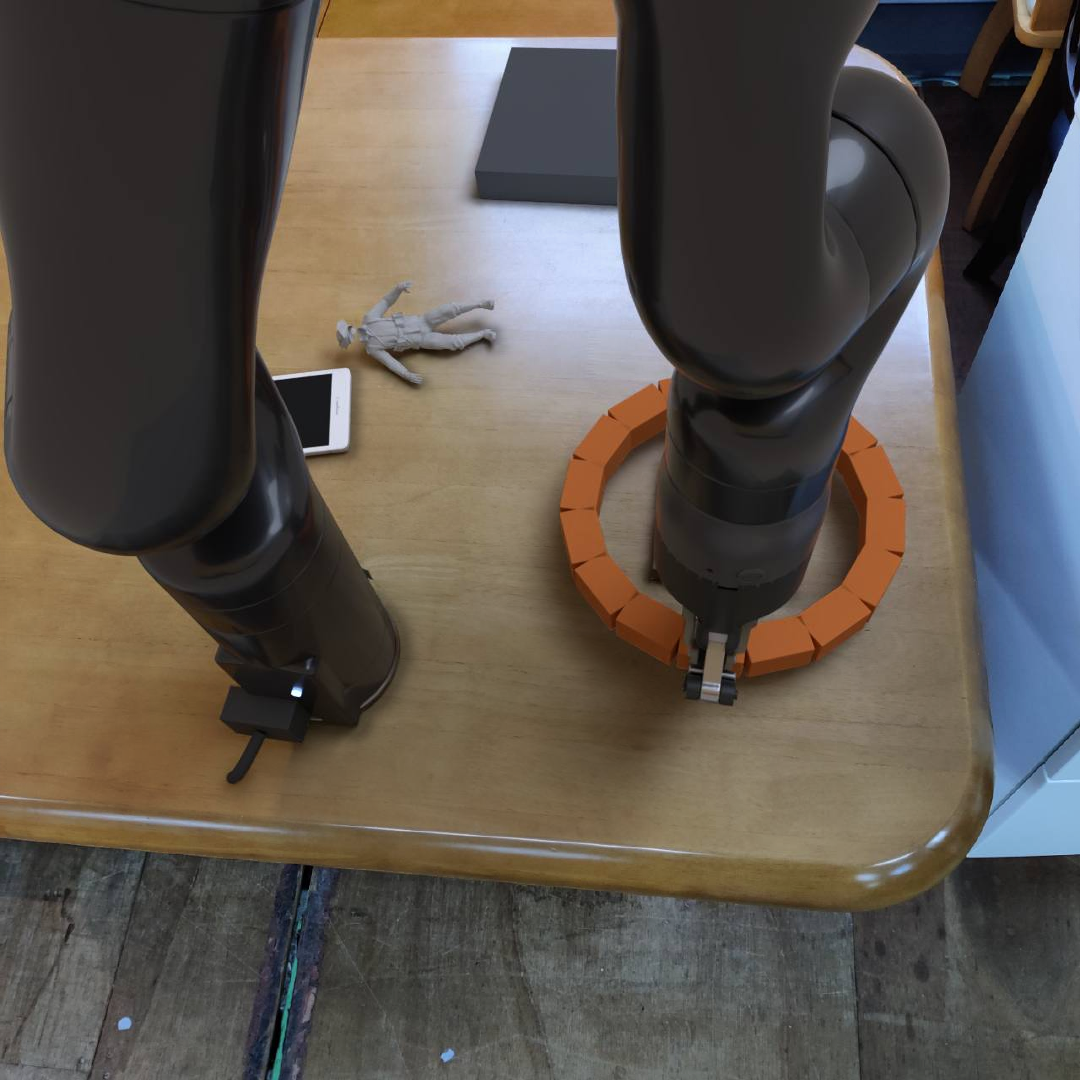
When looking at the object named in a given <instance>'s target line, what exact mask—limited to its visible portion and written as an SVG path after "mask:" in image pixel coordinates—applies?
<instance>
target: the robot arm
mask: <svg viewBox="0 0 1080 1080" xmlns="http://www.w3.org/2000/svg"><path fill="white" fill-rule="evenodd" d="M880 2H881V0H612V3H613V8H614V14H615V23H616V49H617V54H616V79H615V116H616V140H617V189H618V205H617V216H618V217H617V220H618V231H619V232H618V233H619V244H620V253H621V258H622V264H623V269H624V274H625V280H626V284H627V287H628V291H629V294H630V297H631V300H632V302H633V305H634V307H635V309H636V313H637V315H638V317H639V319H640V322H641V323H642V325H643V327H644V329H645V331H646V332H647V334H648V335H649V337H650V339H651V341H653V343H654V344H655V346H656V348H657V349H658V350H659V351H660V353H661V354H662V355H663V357H664V358H665V359H666V360H667V361H668V362H669V363H670V364H671V365H672V366H673V367H674V369H673V371H672V375H671V377H670V378H671V383H670V388H669V394H668V401H667V420H666V429H665V437H664V450H663V454H662V456H661V459H660V464H659V467H658V472H657V480H656V497H655V517H654V519H655V520H654V521H655V522H654V539H653V545H654V546H653V558H654V560H655V565H656V569H657V572H658V575H659V577H660V579H661V580H660V581H661V583H662V585H663V586H664V588H665V589H666V591H667V593H669V595H670V596H671V597H673V599H674V600H675V601H676V602H678V603H679V604H680V605H681V606H682V609H681V615H682V616H683V617H684V618H685V619H686V623H685V631H684V638H683V643H684V644H685V645H687V646H689V647H691V649H690V648H689V650H688V657H690V662H689V664H691V665H690V666H689V669H687V672H685V673H684V679H683V680H684V681H683V685H682V692H684V699H685V700H689V701H696V702H702V703H707V704H714V705H721V706H725V707H726V706H728V707H734V702H735V701H737V700H738V694H739V689H736V687H737V682H736V680H737V679H736V678H737V677H736V672H732V671H728V670H732V668H733V664H736V657H737V656H735V655H737V654H742V653H744V652H745V651H746V648H747V644H748V640H749V635H750V631H751V629H752V628H755V627H756V626H757V624H758V623H759V619H762V618H764V617H767V616H769V615H772V614H773V613H774V612H776V611H778V610H780V609H781V608H783V607H784V606H785V605H786V604H787V603H788V602H789V601H790V600H791V599H792V598H793V597H794V596H795V594H796V593H797V591H798V590H799V589H800V587H801V585H802V583H803V581H804V578H805V575H806V572H807V569H808V568H809V567H808V566H809V564H810V561H811V558H812V555H813V552H814V551H815V550H814V549H815V546H816V543H817V541H818V539H819V535H820V532H821V529H822V526H823V524H824V521H825V518H826V515H827V512H828V508H829V504H830V500H831V494H832V484H833V483H832V481H833V475H834V473H835V471H836V469H835V467H836V464H837V461H838V458H839V455H840V452H841V449H842V446H843V443H844V441H845V437H846V433H847V430H848V426H849V422H850V417H851V415H852V413H853V410H854V407H855V406H856V402H857V400H858V399H859V398H858V397H859V396H860V394H861V392H862V390H863V387H864V385H865V383H866V382H867V380H868V377H869V376H870V374H871V372H872V370H873V369H874V367H875V365H876V363H877V362H878V360H879V358H880V357H881V356H882V354H883V352H884V350H885V349H886V347H887V345H888V343H889V341H890V339H891V338H892V336H893V334H894V332H895V330H896V328H897V327H898V325H899V323H900V321H901V319H902V317H903V316H904V313H905V312H906V310H907V308H908V307H909V305H910V302H911V300H912V299H913V297H914V294H915V293H916V291H917V288H918V287H919V285H920V283H921V280H922V279H923V277H924V275H925V273H926V271H927V269H928V266H929V264H930V262H931V260H932V258H933V256H934V254H935V251H936V249H937V246H938V243H939V241H940V237H941V235H942V232H943V229H944V225H945V221H946V218H947V213H948V209H949V201H950V190H951V189H950V187H951V174H950V163H949V156H948V155H949V154H948V151H947V147H946V143H945V140H944V137H943V133H942V131H941V129H940V127H939V124H938V122H937V120H936V119H935V117H934V115H933V113H932V112H931V110H930V109H929V108H928V106H927V104H926V103H925V102H924V101H923V99H922V98H921V97H920V96H919V95H918V94H917V92H915V91H914V90H913V89H911V88H910V87H909V86H908V85H907V84H905V83H904V82H902V81H900V80H899V79H897V78H896V77H894V76H892V75H890V74H888V73H886V72H884V71H882V70H878V69H875V68H871V67H866V66H860V65H846V62H847V60H848V57H849V55H850V53H851V51H852V49H853V48H854V46H855V45H856V42H857V41H858V39H859V37H860V36H861V34H862V32H863V31H864V29H865V28H866V25H868V22H869V21H870V18H871V17H872V16H873V14H874V13H875V10H876V8H877V7H878V5H879V4H880ZM322 4H323V0H0V235H1V239H2V245H3V249H4V253H5V259H6V265H7V273H8V281H9V288H10V297H11V299H10V300H11V310H10V313H9V318H8V324H7V338H6V358H5V359H6V361H5V386H4V410H3V418H4V419H3V453H4V458H5V459H4V460H5V465H6V468H7V472H8V476H9V478H10V481H11V482H12V485H13V487H14V489H15V491H16V492H17V494H18V496H19V497H20V499H21V500H22V502H23V503H24V505H25V506H26V507H27V509H28V510H29V511H30V512H32V514H33V515H34V516H35V517H36V518H37V519H38V520H40V521H41V522H42V523H43V524H44V525H45V526H47V527H48V528H49V529H50V530H52V531H53V532H54V533H56V534H58V535H60V536H61V537H62V538H65V539H66V540H68V541H70V542H72V543H74V544H76V545H79V546H81V547H83V548H87V549H89V550H92V551H94V552H98V553H102V554H107V555H111V556H119V557H136V558H137V560H138V561H139V563H140V565H141V566H142V567H143V569H144V570H145V571H146V573H147V574H149V576H150V577H151V578H152V579H153V580H154V581H155V582H156V583H157V584H158V585H159V586H160V587H161V588H162V589H163V590H164V591H165V592H166V593H167V594H168V595H169V596H170V597H171V598H172V599H173V600H174V601H175V602H176V603H177V604H178V605H179V606H180V607H181V608H182V609H183V610H184V611H185V612H186V613H187V614H188V615H189V616H190V617H191V618H192V619H193V620H194V621H195V622H196V624H197V625H199V626H200V627H201V628H202V629H203V630H204V631H205V632H206V633H207V634H208V635H209V637H211V638H212V639H213V640H214V641H215V642H216V643H217V644H218V647H217V649H216V652H215V655H214V662H215V664H216V665H217V666H218V667H219V668H221V669H222V671H224V672H225V673H226V674H227V675H228V676H229V677H230V678H231V679H232V680H233V681H234V682H235V683H236V684H237V685H230V686H229V689H228V692H227V694H226V697H225V701H224V704H223V706H222V709H221V713H220V715H219V718H218V720H219V721H221V722H222V724H224V725H225V726H226V727H228V728H229V729H230V730H231V731H232V732H234V733H235V734H236V735H242V736H249V737H250V739H249V741H248V743H247V744H246V746H245V748H244V750H243V752H242V754H241V755H240V757H239V759H238V761H237V763H236V764H235V766H234V767H233V769H232V770H230V771H229V772H228V773H226V777H225V779H226V782H227V783H228V784H229V785H236V784H237V783H239V782H240V781H242V780H243V779H244V778H245V776H246V775H247V774H248V772H249V770H250V769H251V767H252V765H253V764H254V762H255V760H256V758H257V756H258V754H259V752H260V751H261V748H262V746H263V745H264V743H265V740H266V739H268V740H275V741H281V742H288V743H294V744H301V745H303V744H304V742H305V739H306V736H307V732H308V729H309V725H310V723H315V724H329V725H337V726H343V727H350V728H355V727H357V726H358V725H359V723H360V719H361V716H362V714H363V712H364V711H365V710H366V709H368V708H369V707H370V706H372V705H373V704H374V703H375V702H376V701H377V700H378V699H379V698H380V697H381V696H382V695H383V694H384V692H385V691H386V690H387V689H388V687H389V686H390V684H391V683H392V680H393V679H394V677H395V674H396V672H397V670H398V666H399V662H400V656H401V639H400V638H401V637H400V633H399V631H398V628H397V625H396V622H395V621H394V619H393V617H392V615H391V614H390V612H389V611H388V609H387V608H386V607H385V605H383V603H382V601H381V599H380V597H379V595H378V594H377V592H376V590H375V588H374V587H373V585H372V583H371V581H372V582H373V581H374V578H373V576H372V575H371V573H370V571H369V569H368V570H367V569H365V568H363V566H362V565H361V564H360V562H359V560H358V558H357V557H356V554H355V553H354V551H353V549H352V548H351V546H350V544H349V542H348V541H347V538H346V537H345V535H344V534H343V532H342V530H341V527H340V526H339V524H338V523H337V521H336V519H335V517H334V516H333V514H332V511H331V510H330V508H329V506H328V504H327V503H326V501H325V499H324V497H323V496H322V494H321V492H320V490H319V489H318V486H317V484H316V483H315V481H314V479H313V476H312V475H311V472H310V468H309V465H308V462H307V458H306V456H305V455H304V451H303V448H302V445H301V441H300V438H299V435H298V432H297V430H296V427H295V425H294V422H293V420H292V418H291V416H290V413H289V411H288V409H287V407H286V405H285V403H284V401H283V399H282V397H281V395H280V393H279V391H278V389H277V387H276V385H275V383H274V381H273V379H272V375H271V372H270V370H269V368H268V366H267V365H266V362H265V361H264V359H263V356H262V354H261V352H260V350H259V349H258V347H257V332H258V330H257V329H258V318H259V307H260V301H261V293H262V285H263V280H264V274H265V270H266V267H267V260H268V256H269V252H270V248H271V245H272V240H273V236H274V232H275V229H276V225H277V220H278V216H279V211H280V208H281V205H282V204H281V203H282V199H283V195H284V190H285V186H286V181H287V177H288V173H289V169H290V164H291V158H292V154H293V148H294V144H295V139H296V134H297V130H298V124H299V119H300V115H301V109H302V105H303V99H304V93H305V88H306V84H307V78H308V73H309V67H310V62H311V56H312V51H313V48H314V47H313V46H314V43H315V38H316V32H317V27H318V24H319V23H318V22H319V18H320V13H321V9H322Z"/></svg>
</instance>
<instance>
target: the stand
mask: <svg viewBox="0 0 1080 1080" xmlns="http://www.w3.org/2000/svg"><path fill="white" fill-rule="evenodd" d="M616 54H617V48H577V47H574V48H571V47H570V48H569V47H530V46H529V47H528V46H526V47H525V46H522V47H521V46H511V47H510V50H509V54H508V57H507V60H506V64H505V67H504V71H503V74H502V77H501V81H500V83H499V88H498V89H497V90H498V91H497V93H496V97H495V100H494V104H493V108H492V111H491V113H490V117H489V121H488V124H487V127H486V131H485V133H484V137H483V140H482V143H481V144H482V145H481V147H480V151H479V154H478V158H477V161H476V164H475V168H474V176H475V181H476V187H477V191H478V192H477V193H478V198H479V199H486V200H502V201H503V200H504V201H522V202H523V201H525V202H526V201H527V202H543V203H544V202H545V203H563V204H564V203H565V204H586V205H605V206H607V205H608V206H618V189H617V140H616V116H615V79H616Z"/></svg>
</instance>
